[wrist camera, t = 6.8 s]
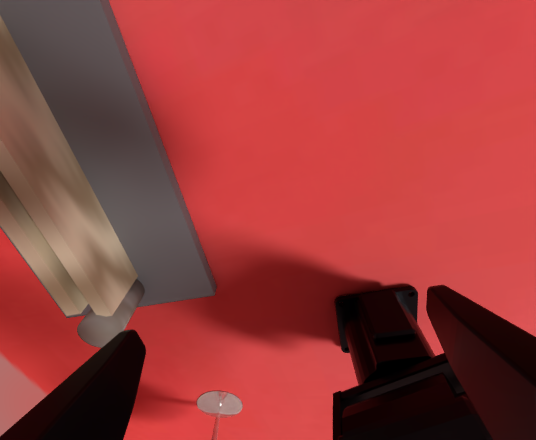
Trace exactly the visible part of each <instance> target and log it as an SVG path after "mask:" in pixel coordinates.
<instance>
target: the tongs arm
mask: <svg viewBox="0 0 536 440" xmlns="http://www.w3.org/2000/svg"><path fill="white" fill-rule="evenodd" d="M0 226H1V227H2V228H3V230H4V231H5V232H6V234H7V235H8V237H9V238H10V239H11V241H12V242H13V243H14V245H15V246H16V248H17V249H18V250H19V252H20V253H21V254H22V256H23V257H24V259H25V260H26V261H27V263H28V264H29V265H30V267H31V268H32V269H33V271H34V272H35V274H36V275H37V276H38V278H39V279H40V280H41V282H42V283H43V285H44V286H45V287H46V289H47V290H48V291H49V293H50V294H51V295H52V297H53V298H54V300H55V301H56V302H57V304H58V305H59V306H60V308H61V309H62V311H63V312H64V313H65V315H66V316H69V315H76V314H81V313H82V311H83V310H84V309H85V308H86V306H87V305H88V304H89V303H88V302H87V300H86V299H85V297H84V296H83V294H82V293H81V291H80V290H79V288H78V287H77V285H76V284H75V282H74V281H73V279H72V278H71V276H70V275H69V273H68V272H67V270H66V269H65V267H64V266H63V264H62V263H61V261H60V260H59V258H58V257H57V255H56V254H55V252H54V251H53V249H52V248H51V246H50V245H49V243H48V242H47V240H46V239H45V237H44V236H43V234H42V233H41V231H40V230H39V228H38V227H37V225H36V224H35V222H34V221H33V219H32V218H31V216H30V215H29V213H28V212H27V210H26V209H25V207H24V206H23V204H22V203H21V201H20V200H19V198H18V197H17V195H16V194H15V192H14V191H13V189H12V188H11V186H10V185H9V183H8V182H7V180H6V179H5V177H4V176H3V174H2V173H1V171H0Z"/></svg>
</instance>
